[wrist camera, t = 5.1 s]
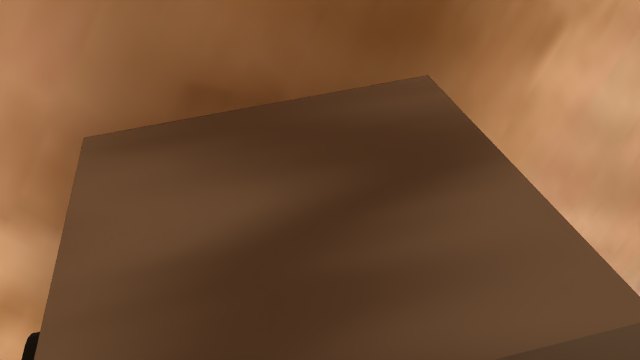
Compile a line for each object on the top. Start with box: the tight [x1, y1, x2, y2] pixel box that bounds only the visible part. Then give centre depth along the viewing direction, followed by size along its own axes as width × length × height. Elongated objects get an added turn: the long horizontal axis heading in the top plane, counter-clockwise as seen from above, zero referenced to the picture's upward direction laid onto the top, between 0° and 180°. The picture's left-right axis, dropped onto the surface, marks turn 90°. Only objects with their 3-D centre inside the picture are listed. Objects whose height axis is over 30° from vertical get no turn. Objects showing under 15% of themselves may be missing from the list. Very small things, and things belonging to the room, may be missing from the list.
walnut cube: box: [34, 75, 640, 360], centre depth 9 cm, size 6×6×6 cm
